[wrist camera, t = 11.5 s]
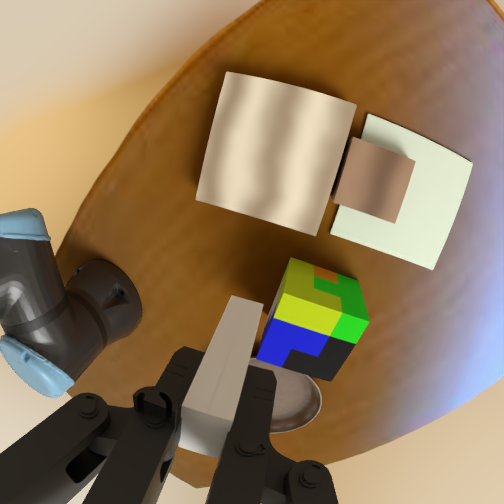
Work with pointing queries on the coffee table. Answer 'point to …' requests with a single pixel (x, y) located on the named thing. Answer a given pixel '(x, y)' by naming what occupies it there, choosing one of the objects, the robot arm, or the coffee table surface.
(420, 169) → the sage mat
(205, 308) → the coffee table surface
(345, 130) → the plate
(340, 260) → the coffee table surface
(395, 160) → the walnut tile
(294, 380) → the plant saucer
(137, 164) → the coffee table surface
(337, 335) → the puzzle toy
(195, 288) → the coffee table surface
